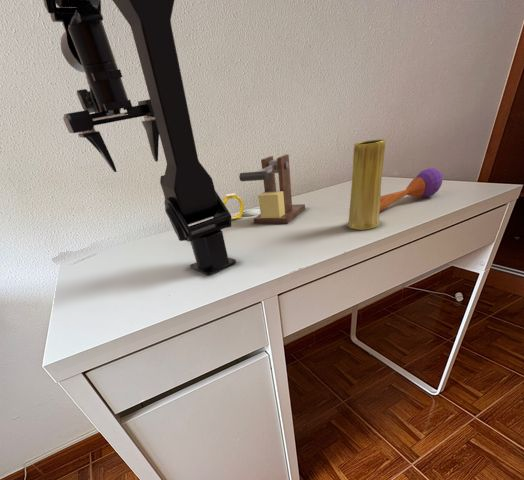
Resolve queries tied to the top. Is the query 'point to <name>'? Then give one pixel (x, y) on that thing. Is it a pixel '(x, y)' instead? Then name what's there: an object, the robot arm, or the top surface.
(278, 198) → the butter
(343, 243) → the top surface
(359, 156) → the vase
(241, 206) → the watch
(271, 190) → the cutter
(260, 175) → the angled grey lever
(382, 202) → the maraca
